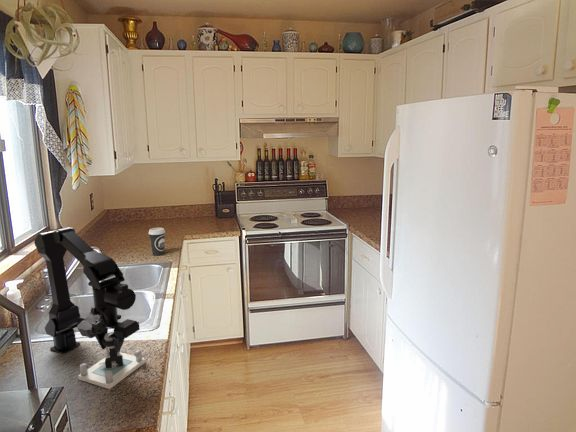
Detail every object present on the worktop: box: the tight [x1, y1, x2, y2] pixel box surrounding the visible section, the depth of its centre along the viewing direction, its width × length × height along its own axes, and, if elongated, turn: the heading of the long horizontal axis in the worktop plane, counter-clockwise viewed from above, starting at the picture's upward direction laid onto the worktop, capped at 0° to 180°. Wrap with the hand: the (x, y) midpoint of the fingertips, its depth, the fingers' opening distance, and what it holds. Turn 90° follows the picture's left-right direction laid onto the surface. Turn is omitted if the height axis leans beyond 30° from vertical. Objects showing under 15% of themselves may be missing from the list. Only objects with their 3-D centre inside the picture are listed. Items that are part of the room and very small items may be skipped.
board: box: [77, 349, 146, 390], centre depth 118 cm, size 12×14×4 cm
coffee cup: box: [147, 227, 166, 257], centre depth 229 cm, size 10×10×15 cm
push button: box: [99, 331, 123, 368], centre depth 117 cm, size 7×5×10 cm
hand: (110, 350), depth 117 cm, fingers open, 5 cm apart
